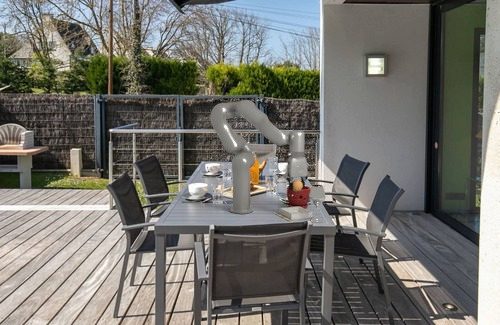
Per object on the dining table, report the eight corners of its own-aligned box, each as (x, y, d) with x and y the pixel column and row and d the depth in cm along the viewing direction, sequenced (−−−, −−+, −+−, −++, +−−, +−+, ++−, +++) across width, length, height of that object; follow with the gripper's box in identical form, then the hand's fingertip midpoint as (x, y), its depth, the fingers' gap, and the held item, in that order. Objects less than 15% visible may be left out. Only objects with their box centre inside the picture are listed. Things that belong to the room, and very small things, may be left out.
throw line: (273, 213, 262) (273, 212, 262) (275, 213, 262) (275, 212, 262) (290, 222, 244) (290, 221, 244) (293, 221, 244) (293, 221, 244)
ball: (289, 190, 257) (289, 179, 256) (299, 189, 259) (299, 178, 258) (294, 192, 251) (294, 181, 250) (304, 191, 253) (304, 180, 253)
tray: (279, 213, 261) (279, 208, 261) (299, 211, 266) (299, 206, 265) (291, 219, 248) (291, 213, 248) (312, 217, 253) (312, 212, 252)
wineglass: (323, 219, 250) (323, 184, 248) (326, 223, 242) (327, 187, 240) (307, 219, 250) (307, 184, 248) (309, 223, 242) (310, 187, 239)
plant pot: (284, 209, 271) (285, 188, 269) (288, 204, 283) (288, 184, 282) (308, 211, 268) (308, 189, 266) (311, 206, 280) (311, 185, 279)
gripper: (285, 156, 246) (285, 192, 248) (315, 154, 253) (314, 189, 255) (278, 155, 253) (278, 189, 255) (308, 153, 259) (307, 187, 262)
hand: (296, 189), depth 255 cm, fingers closed on ball, 5 cm apart
